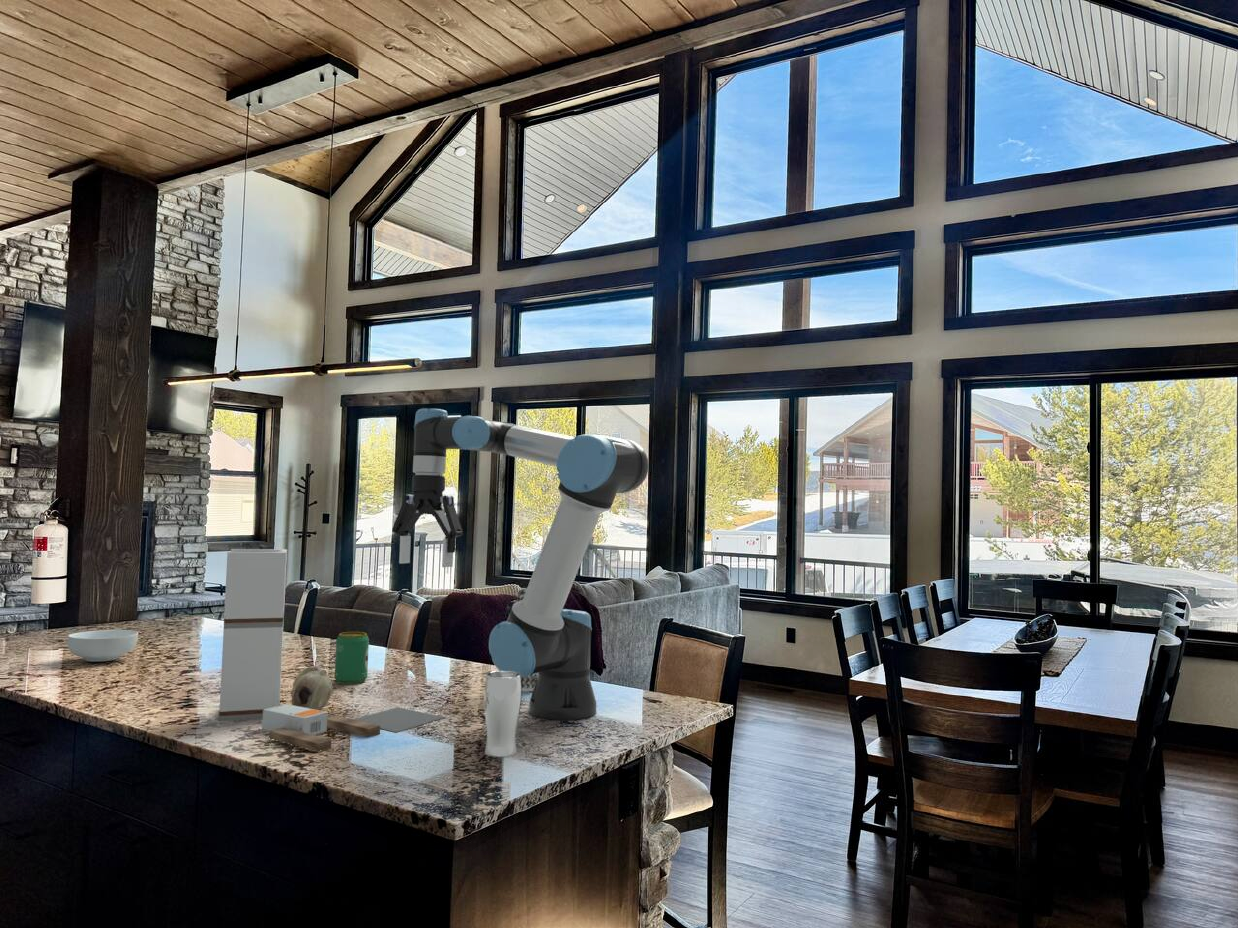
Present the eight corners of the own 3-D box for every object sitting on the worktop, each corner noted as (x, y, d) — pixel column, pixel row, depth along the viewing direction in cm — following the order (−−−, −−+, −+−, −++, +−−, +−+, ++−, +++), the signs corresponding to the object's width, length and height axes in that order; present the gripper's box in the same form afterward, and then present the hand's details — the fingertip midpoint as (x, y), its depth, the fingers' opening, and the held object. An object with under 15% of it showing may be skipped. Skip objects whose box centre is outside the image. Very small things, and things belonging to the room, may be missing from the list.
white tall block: (279, 705, 184) (287, 549, 186) (278, 717, 174) (286, 552, 176) (223, 709, 180) (231, 549, 181) (218, 721, 170) (227, 552, 172)
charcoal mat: (444, 719, 177) (444, 717, 177) (396, 734, 165) (396, 731, 165) (397, 709, 184) (397, 707, 184) (348, 723, 172) (348, 720, 172)
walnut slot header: (379, 735, 163) (380, 725, 164) (317, 754, 151) (318, 743, 151) (332, 724, 171) (332, 714, 171) (268, 741, 158) (269, 730, 158)
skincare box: (304, 717, 159) (261, 709, 165) (303, 739, 159) (260, 730, 165) (328, 710, 165) (286, 703, 170) (327, 732, 165) (285, 724, 170)
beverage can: (368, 683, 208) (370, 635, 209) (335, 685, 205) (337, 636, 206) (365, 676, 215) (367, 630, 216) (333, 678, 212) (335, 631, 213)
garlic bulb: (290, 708, 182) (292, 662, 183) (330, 705, 185) (332, 661, 186) (289, 719, 173) (291, 671, 174) (331, 716, 176) (333, 669, 177)
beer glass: (520, 749, 157) (523, 670, 158) (517, 761, 150) (520, 678, 151) (484, 748, 157) (487, 669, 158) (479, 760, 150) (482, 677, 151)
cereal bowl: (149, 658, 231) (150, 632, 231) (85, 667, 217) (86, 640, 217) (117, 650, 240) (118, 626, 240) (54, 659, 226) (55, 633, 226)
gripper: (480, 475, 190) (477, 567, 189) (402, 474, 203) (398, 560, 202) (458, 474, 184) (454, 569, 183) (379, 473, 197) (375, 562, 196)
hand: (425, 565), depth 193 cm, fingers open, 13 cm apart
